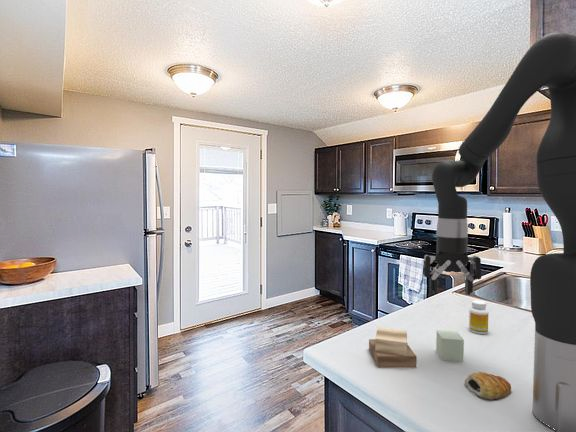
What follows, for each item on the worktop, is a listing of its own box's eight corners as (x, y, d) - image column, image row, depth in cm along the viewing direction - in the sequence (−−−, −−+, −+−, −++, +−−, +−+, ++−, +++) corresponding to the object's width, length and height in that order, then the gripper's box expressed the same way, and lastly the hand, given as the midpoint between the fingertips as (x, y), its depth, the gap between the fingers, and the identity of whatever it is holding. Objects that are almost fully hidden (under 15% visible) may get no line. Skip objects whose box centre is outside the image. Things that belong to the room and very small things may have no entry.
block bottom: (416, 369, 84) (416, 356, 84) (377, 369, 84) (377, 356, 84) (403, 350, 94) (403, 339, 94) (368, 350, 94) (369, 339, 94)
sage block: (463, 361, 87) (463, 339, 86) (441, 359, 88) (441, 338, 87) (456, 351, 92) (457, 331, 92) (436, 350, 93) (436, 330, 93)
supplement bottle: (490, 335, 103) (491, 305, 102) (472, 333, 104) (473, 304, 103) (484, 328, 108) (484, 299, 107) (466, 327, 109) (467, 299, 108)
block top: (407, 355, 84) (407, 342, 84) (375, 351, 87) (375, 338, 86) (406, 342, 91) (406, 330, 91) (377, 338, 94) (377, 327, 94)
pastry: (495, 380, 78) (495, 365, 78) (520, 397, 71) (521, 380, 71) (461, 385, 76) (462, 369, 76) (484, 403, 70) (485, 386, 69)
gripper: (427, 236, 86) (426, 296, 87) (486, 236, 83) (484, 298, 84) (421, 232, 93) (420, 288, 94) (475, 233, 90) (474, 290, 91)
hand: (450, 293), depth 89 cm, fingers open, 8 cm apart
